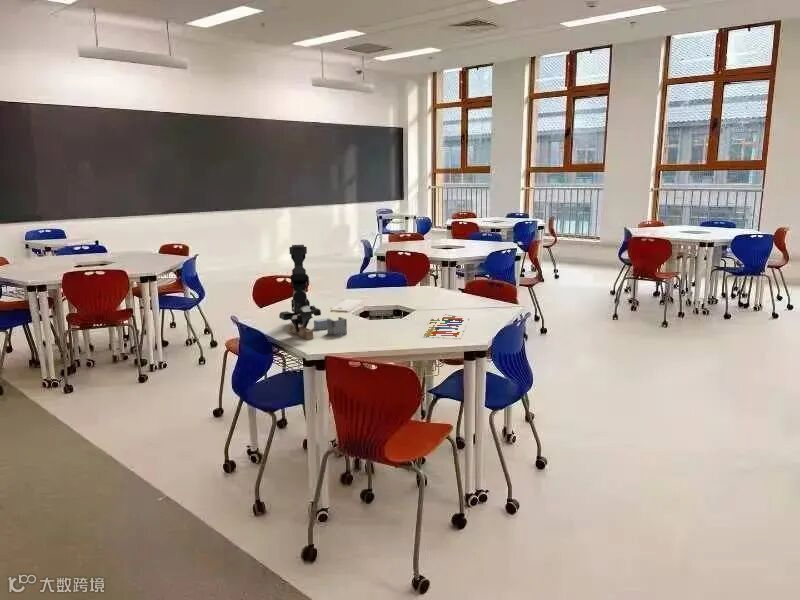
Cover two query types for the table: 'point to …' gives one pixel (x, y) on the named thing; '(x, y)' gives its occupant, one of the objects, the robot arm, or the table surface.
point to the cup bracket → (337, 326)
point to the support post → (320, 323)
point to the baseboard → (346, 305)
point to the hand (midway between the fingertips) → (301, 331)
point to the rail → (302, 331)
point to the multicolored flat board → (430, 331)
